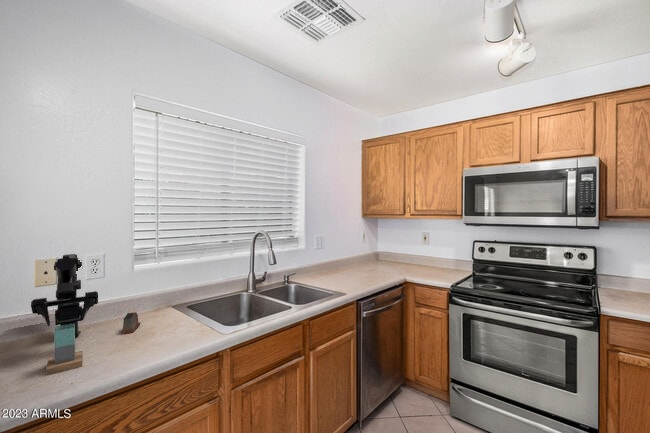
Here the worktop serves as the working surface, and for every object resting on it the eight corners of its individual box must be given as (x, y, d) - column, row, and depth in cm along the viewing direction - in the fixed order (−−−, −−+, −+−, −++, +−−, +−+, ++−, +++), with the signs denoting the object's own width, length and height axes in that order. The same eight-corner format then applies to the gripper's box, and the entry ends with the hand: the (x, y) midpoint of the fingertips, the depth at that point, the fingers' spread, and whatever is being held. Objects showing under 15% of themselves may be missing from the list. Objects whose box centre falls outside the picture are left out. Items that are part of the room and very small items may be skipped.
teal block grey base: (56, 358, 103) (55, 326, 103) (75, 354, 106) (74, 323, 106) (54, 364, 99) (54, 331, 99) (74, 360, 103) (74, 327, 102)
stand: (48, 364, 104) (48, 358, 104) (82, 356, 109) (82, 350, 109) (46, 375, 97) (45, 369, 97) (82, 366, 102) (82, 360, 102)
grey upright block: (140, 324, 139) (140, 308, 139) (133, 333, 130) (133, 315, 130) (130, 325, 138) (129, 309, 138) (121, 334, 129) (121, 316, 129)
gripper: (31, 276, 107) (26, 317, 98) (97, 270, 118) (98, 306, 110) (34, 293, 113) (30, 333, 105) (97, 286, 125) (98, 321, 116)
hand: (66, 322), depth 109 cm, fingers open, 9 cm apart
